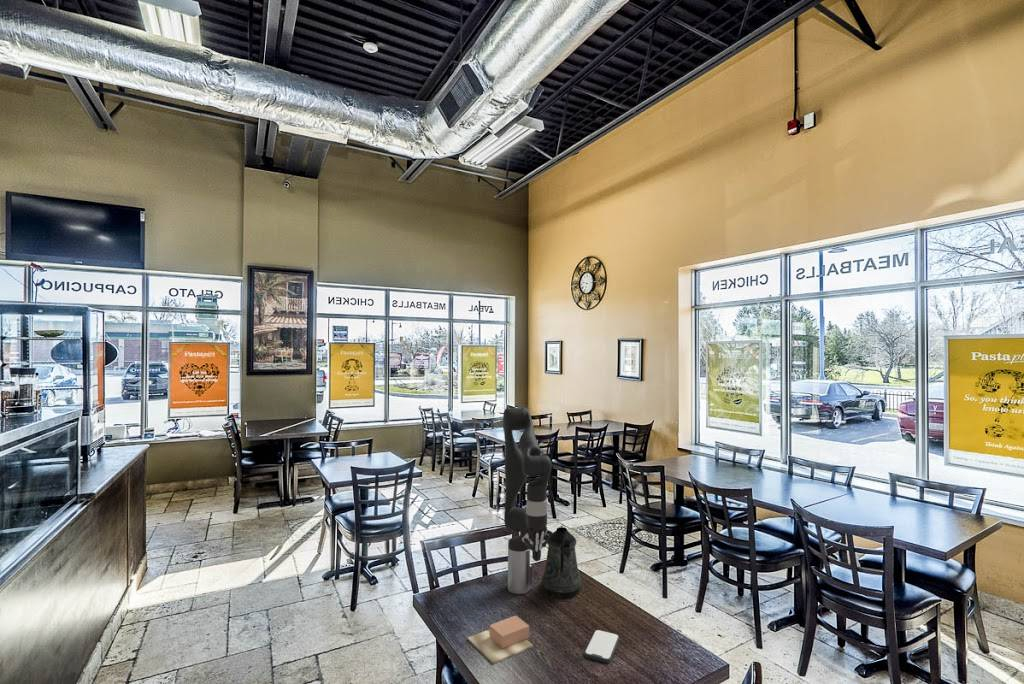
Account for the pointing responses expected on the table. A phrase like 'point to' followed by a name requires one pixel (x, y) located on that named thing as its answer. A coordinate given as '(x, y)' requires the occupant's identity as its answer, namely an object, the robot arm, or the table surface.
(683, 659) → the table surface
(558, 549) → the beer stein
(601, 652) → the phone case
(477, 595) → the table surface
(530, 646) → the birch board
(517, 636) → the salmon pink block
